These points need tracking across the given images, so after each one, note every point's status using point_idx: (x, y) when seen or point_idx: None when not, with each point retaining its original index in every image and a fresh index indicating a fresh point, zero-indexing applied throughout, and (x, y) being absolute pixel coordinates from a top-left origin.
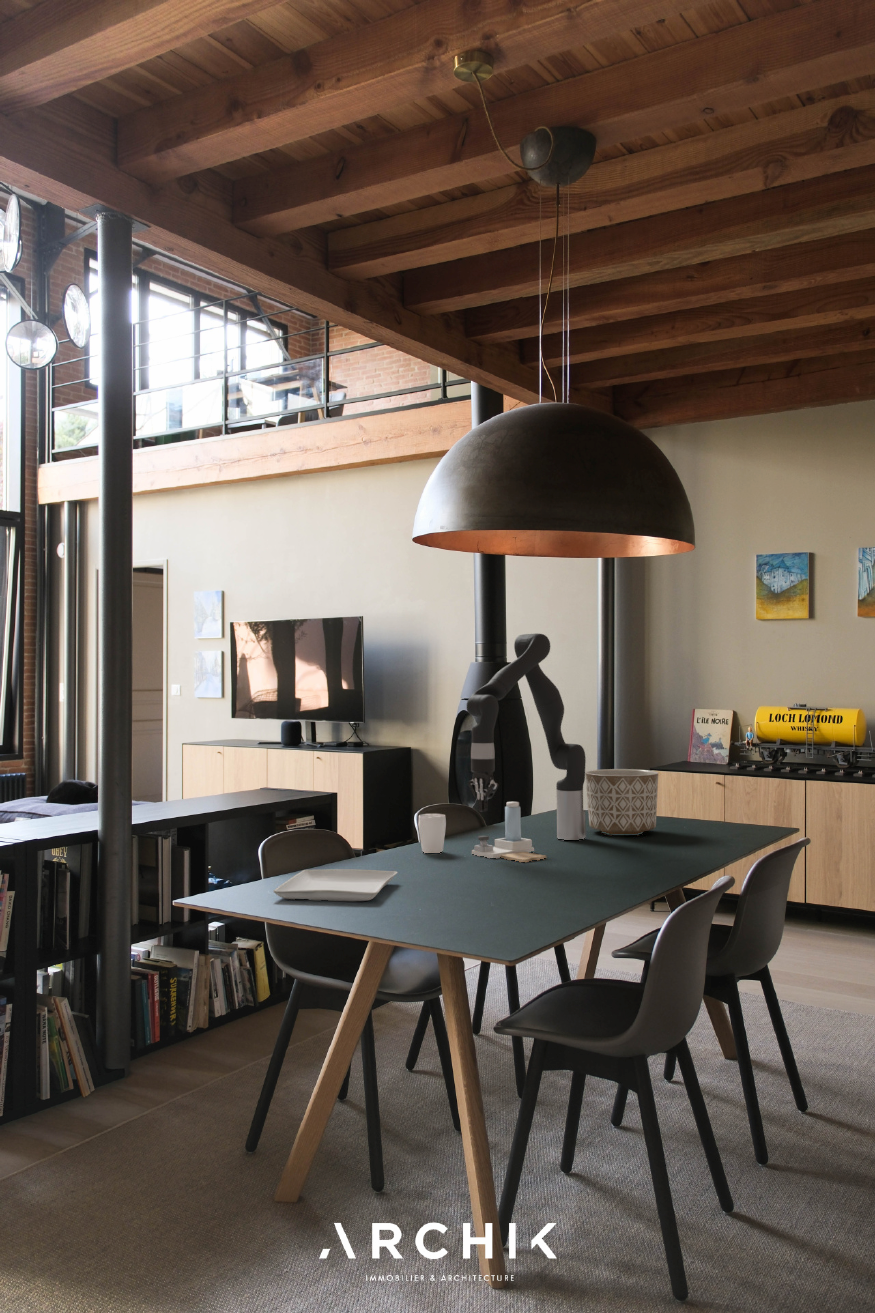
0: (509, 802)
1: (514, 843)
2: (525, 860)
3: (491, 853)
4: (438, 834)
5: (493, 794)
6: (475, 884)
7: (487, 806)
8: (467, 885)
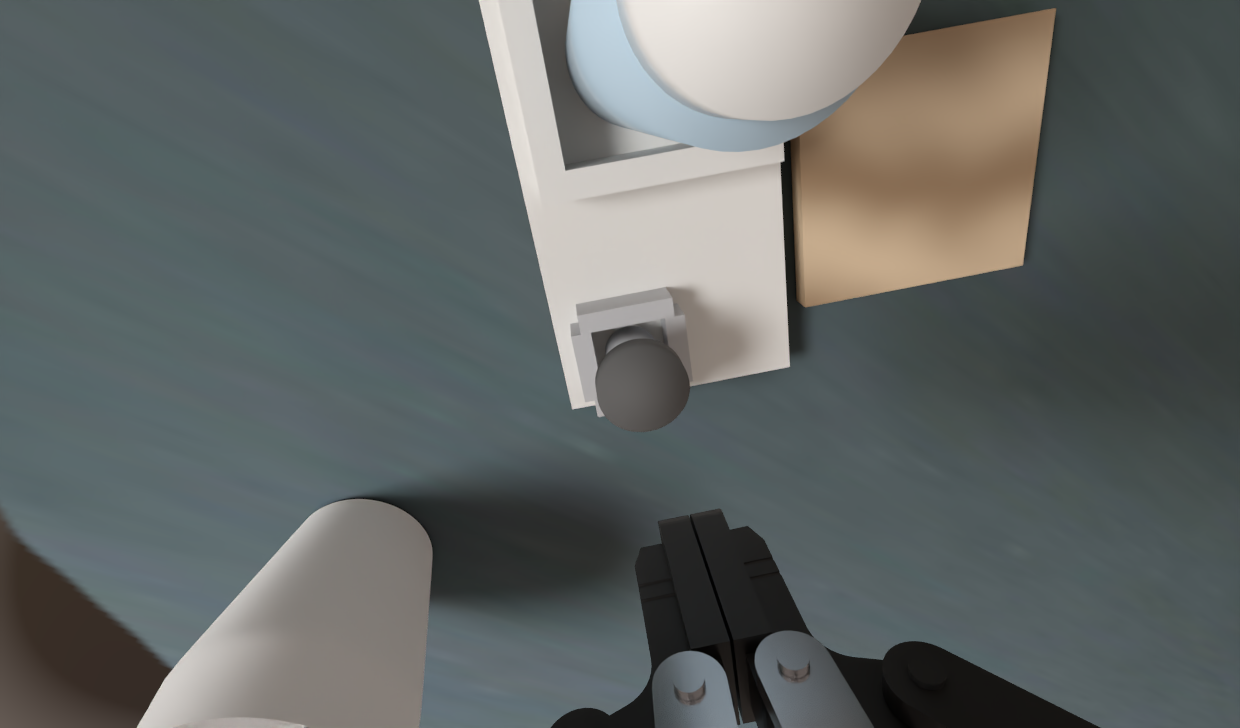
0: (742, 31)
1: None
2: (1018, 240)
3: (763, 360)
4: (423, 648)
5: (1036, 706)
6: (1150, 662)
7: (774, 563)
8: (1136, 687)
